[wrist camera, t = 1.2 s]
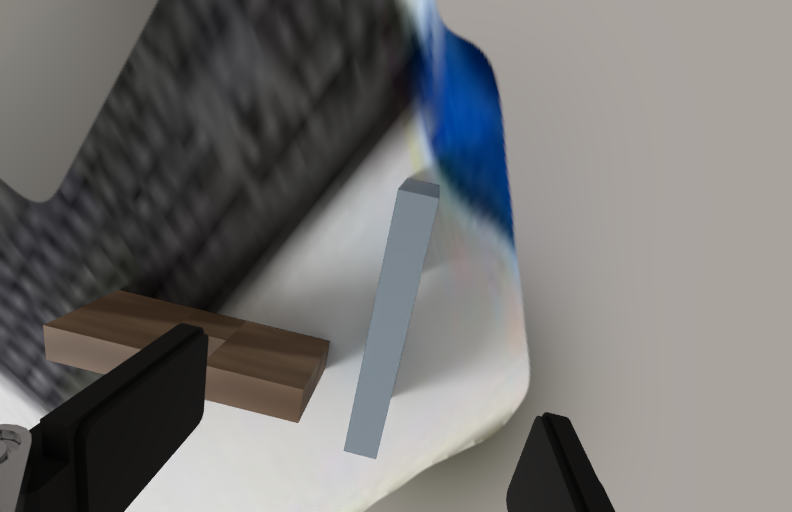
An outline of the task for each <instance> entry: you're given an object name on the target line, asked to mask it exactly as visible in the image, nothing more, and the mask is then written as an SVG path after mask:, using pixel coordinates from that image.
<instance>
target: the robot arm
mask: <svg viewBox="0 0 792 512" xmlns="http://www.w3.org/2000/svg"><path fill="white" fill-rule="evenodd" d="M208 342H209V337H208V335H207V334H204V330H203V328H202V327H198V326H194V325H190V324H186V323H180V324H178V325H176V326H175V327H173V328H172V329H171V330H169V331H168V332H166V333H165V334H163V335H162V336H160V337H159V338H158V339H156V340H155V341H153V342H152V343H150V344H149V345H147V346H146V347H144V348H143V349H142V350H140V351H139V352H137V353H136V354H134V355H133V356H131V357H130V358H128V359H127V360H126V361H124V362H123V363H121V364H120V365H118V366H117V367H115V368H114V369H113V370H111V371H110V372H108V373H107V374H105V375H104V376H102V377H101V378H99V379H98V380H97V381H95V382H94V383H92V384H91V385H89V386H88V387H86V388H85V389H83V390H82V391H81V392H79V393H78V394H76V395H75V396H73V397H72V398H70V399H69V400H68V401H66V402H65V403H63V404H62V405H60V406H59V407H57V408H56V409H54V410H53V411H52V412H50V413H49V414H47V415H46V416H44V417H43V418H41V419H40V423H39V424H38V425H36V426H35V427H33V428H32V429H30V430H29V431H28V430H27V429H26V428H24V427H21V426H19V425H11V424H1V425H0V512H124V511H125V510H126V509H127V507H128V506H129V505H130V504H131V503H132V502H133V500H134V499H135V498H136V497H137V496H138V495H139V493H140V492H141V491H142V490H143V489H144V488H145V486H146V485H147V484H148V483H149V482H150V481H151V479H152V478H153V477H154V476H155V475H156V474H157V472H158V471H159V470H160V469H161V468H162V467H163V465H164V464H165V463H166V462H167V461H168V460H169V458H170V457H171V456H172V455H173V454H174V453H175V451H176V450H177V449H178V448H179V447H180V446H181V444H182V443H183V442H184V441H185V440H186V439H187V437H188V436H189V435H190V434H191V433H192V432H193V430H194V429H195V428H196V427H197V426H198V424H199V423H200V421H201V419H202V416H203V412H204V400H205V385H206V371H207V356H208ZM506 502H507V509H508V512H615V510H614V508H613V506H612V504H611V502H610V500H609V498H608V496H607V494H606V492H605V490H604V488H603V486H602V484H601V483H600V481H599V480H598V478H597V476H596V474H595V472H594V470H593V467H592V465H591V463H590V461H589V459H588V457H587V455H586V453H585V451H584V449H583V447H582V445H581V443H580V440H579V439H578V436H577V434H576V432H575V430H574V428H573V426H572V424H571V422H570V420H569V418H567V417H564V416H560V415H556V414H552V413H548V412H546V413H544V414H543V415H542V417H541V416H537V417H536V418H535V420H534V423H533V425H532V428H531V431H530V433H529V436H528V438H527V441H526V443H525V446H524V449H523V451H522V454H521V456H520V459H519V462H518V464H517V467H516V469H515V472H514V475H513V477H512V480H511V482H510V485H509V488H508V491H507V498H506Z"/></svg>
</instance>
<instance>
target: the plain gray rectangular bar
mask: <svg viewBox="0 0 792 512" xmlns="http://www.w3.org/2000/svg"><path fill="white" fill-rule="evenodd" d="M438 202H439V185H435V184H431V183H426V182H422V181H417V180H413V179H408V178H407V179H406V180H405V182H404V183H403V184H402V185H401V187H400V188H399V189H398V192H397V197H396V202H395V207H394V212H393V216H392V221H391V226H390V231H389V236H388V240H387V245H386V250H385V255H384V260H383V265H382V269H381V274H380V279H379V284H378V289H377V293H376V298H375V303H374V308H373V313H372V317H371V322H370V327H369V332H368V337H367V341H366V346H365V351H364V356H363V361H362V365H361V370H360V375H359V380H358V385H357V389H356V394H355V399H354V404H353V409H352V413H351V418H350V423H349V428H348V433H347V438H346V442H345V447H344V451H346V452H350V453H354V454H358V455H362V456H366V457H370V458H374V459H376V457H377V453H378V449H379V445H380V441H381V436H382V432H383V428H384V424H385V420H386V416H387V412H388V408H389V404H390V399H391V395H392V391H393V387H394V383H395V379H396V375H397V371H398V367H399V363H400V358H401V354H402V350H403V346H404V342H405V338H406V334H407V330H408V326H409V321H410V317H411V313H412V309H413V305H414V301H415V297H416V293H417V289H418V284H419V280H420V276H421V272H422V268H423V264H424V260H425V256H426V252H427V247H428V243H429V239H430V235H431V231H432V227H433V223H434V219H435V215H436V210H437V206H438Z"/></svg>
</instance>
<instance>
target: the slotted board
mask: <svg viewBox="0 0 792 512" xmlns="http://www.w3.org/2000/svg"><path fill="white" fill-rule="evenodd" d="M180 323H186V324H190V325H194V326H198V327H202V328H203V330H204V334H207V335H208V337H209V342H208V356H207V371H206V385H205V400H209V401H213V402H217V403H221V404H225V405H228V406H232V407H236V408H240V409H244V410H248V411H252V412H256V413H260V414H264V415H268V416H272V417H276V418H280V419H284V420H288V421H292V422H296V423H298V422H299V420H300V418H301V416H302V414H303V412H304V410H305V408H306V406H307V404H308V402H309V400H310V398H311V396H312V394H313V392H314V390H315V388H316V386H317V384H318V382H319V380H320V378H321V376H322V374H323V372H324V370H325V365H326V360H327V354H328V348H329V342H330V341H327V340H323V339H319V338H315V337H311V336H306V335H302V334H298V333H294V332H290V331H286V330H282V329H278V328H273V327H269V326H265V325H261V324H257V323H253V322H249V321H245V320H240V319H236V318H232V317H228V316H224V315H220V314H216V313H212V312H207V311H203V310H199V309H195V308H191V307H187V306H183V305H178V304H174V303H170V302H166V301H162V300H158V299H154V298H150V297H145V296H141V295H137V294H133V293H129V292H125V291H121V290H118V291H115V292H113V293H111V294H109V295H107V296H105V297H103V298H100V299H98V300H96V301H94V302H92V303H90V304H88V305H85V306H83V307H81V308H79V309H77V310H75V311H73V312H70V313H68V314H66V315H64V316H62V317H60V318H58V319H55V320H53V321H51V322H49V323H47V324H45V325H43V328H44V339H45V351H46V360H50V361H54V362H58V363H62V364H66V365H70V366H74V367H78V368H82V369H86V370H90V371H94V372H98V373H102V374H107V373H108V372H110V371H111V370H113V369H114V368H115V367H117V366H118V365H120V364H121V363H123V362H124V361H126V360H127V359H128V358H130V357H131V356H133V355H134V354H136V353H137V352H139V351H140V350H142V349H143V348H144V347H146V346H147V345H149V344H150V343H152V342H153V341H155V340H156V339H158V338H159V337H160V336H162V335H163V334H165V333H166V332H168V331H169V330H171V329H172V328H173V327H175V326H176V325H178V324H180Z"/></svg>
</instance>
